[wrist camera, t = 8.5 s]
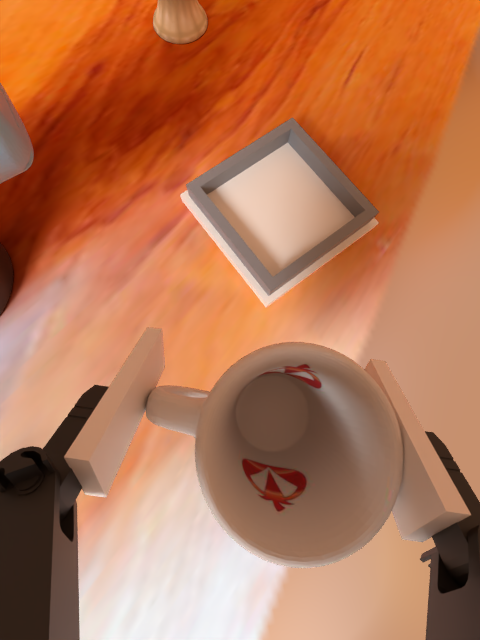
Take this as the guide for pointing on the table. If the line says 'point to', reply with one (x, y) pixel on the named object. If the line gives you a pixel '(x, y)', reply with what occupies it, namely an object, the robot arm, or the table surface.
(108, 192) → the table surface
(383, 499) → the cup
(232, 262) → the gray rimmed square tray
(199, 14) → the hand bell
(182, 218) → the table surface
